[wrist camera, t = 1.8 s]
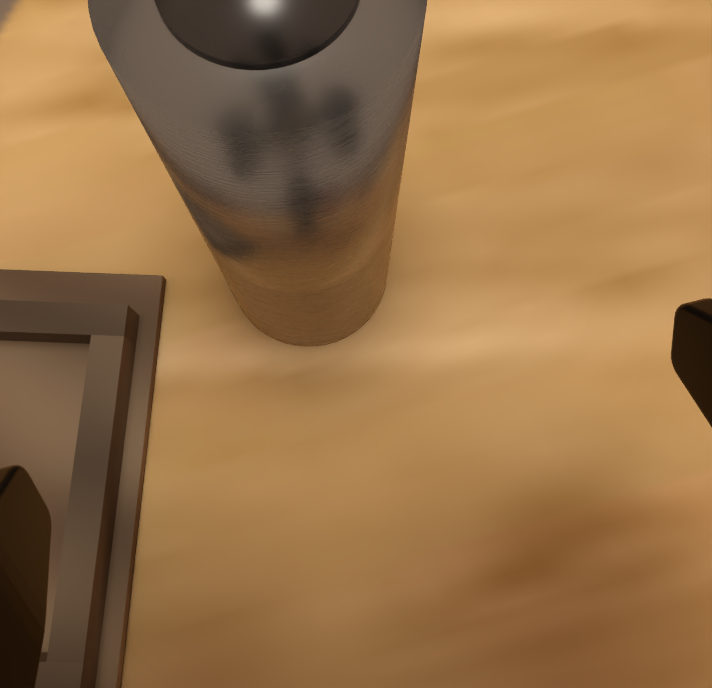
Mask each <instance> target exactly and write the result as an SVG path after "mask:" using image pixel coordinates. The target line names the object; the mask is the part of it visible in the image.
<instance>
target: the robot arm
mask: <svg viewBox="0 0 712 688" xmlns="http://www.w3.org/2000/svg"><path fill="white" fill-rule="evenodd" d="M671 359H672V364H673V367H674V370H675V372H676V373H677V375H678V376H679V378H680V380H681V381H682V383H683V384H684V386H685V387H686V389H687V390H688V392H689V393H690V395H691V396H692V398H693V399H694V401H695V402H696V404H697V405H698V407H699V409H700V410H701V412H702V413H703V415H704V416H705V418H706V419H707V421H708V422H709V424H710V425H711V427H712V299H710V298H708V299H701V300H697V301H693V302H689V303H685V304H682V305H680V306H679V307H678V308H677V310H676V312H675V317H674V327H673V338H672V349H671ZM51 530H52V522H51V516H50V512H49V509H48V507H47V505H46V504H45V502H44V500H43V498H42V496H41V495H40V493H39V491H38V489H37V488H36V486H35V484H34V482H33V480H32V479H31V477H30V475H29V473H28V472H27V471H26V469H25V468H23V467H22V466H19V465H12V466H8V467H4V468H0V688H35V684H36V679H37V674H38V668H39V663H40V657H41V652H42V645H43V639H44V633H45V623H46V611H47V595H48V579H49V563H50V547H51Z"/></svg>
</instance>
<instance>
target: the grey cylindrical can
mask: <svg viewBox="0 0 712 688" xmlns="http://www.w3.org/2000/svg"><path fill="white" fill-rule="evenodd" d="M426 6H427V0H88V8H89V14H90V18H91V22H92V26H93V30H94V32H95V35H96V37H97V40H98V42H99V45H100V47H101V49H102V51H103V53H104V54H105V56H106V58H107V60H108V62H109V64H110V66H111V67H112V69H113V71H114V73H115V75H116V77H117V79H118V80H119V82H120V84H121V86H122V88H123V90H124V92H125V93H126V95H127V97H128V99H129V101H130V103H131V105H132V106H133V108H134V110H135V112H136V114H137V116H138V118H139V119H140V121H141V123H142V125H143V127H144V129H145V131H146V132H147V134H148V136H149V138H150V140H151V142H152V144H153V145H154V147H155V149H156V151H157V153H158V155H159V157H160V158H161V160H162V162H163V164H164V166H165V168H166V170H167V171H168V173H169V175H170V177H171V179H172V181H173V182H174V184H175V186H176V188H177V190H178V192H179V194H180V195H181V197H182V199H183V201H184V203H185V205H186V207H187V208H188V210H189V212H190V214H191V216H192V218H193V220H194V221H195V223H196V225H197V227H198V229H199V231H200V233H201V234H202V236H203V238H204V240H205V242H206V244H207V246H208V247H209V249H210V251H211V253H212V255H213V257H214V259H215V260H216V262H217V264H218V266H219V268H220V270H221V272H222V273H223V275H224V277H225V279H226V281H227V283H228V285H229V286H230V288H231V290H232V292H233V294H234V296H235V298H236V299H237V301H238V303H239V305H240V307H241V308H242V310H243V312H244V313H245V315H246V316H247V317H248V319H249V320H250V321H251V322H252V323H253V324H254V325H255V326H256V327H257V328H258V329H260V330H261V331H262V332H264V333H265V334H266V335H268V336H270V337H272V338H274V339H276V340H279V341H281V342H284V343H288V344H292V345H298V346H319V345H325V344H329V343H333V342H336V341H338V340H341V339H343V338H345V337H347V336H349V335H350V334H352V333H354V332H355V331H356V330H358V329H359V328H360V327H362V326H363V325H364V324H365V323H366V322H367V321H368V320H369V318H370V317H371V316H372V314H373V313H374V312H375V310H376V308H377V307H378V305H379V303H380V301H381V298H382V296H383V293H384V289H385V285H386V278H387V272H388V265H389V258H390V251H391V244H392V238H393V231H394V224H395V217H396V210H397V203H398V197H399V190H400V183H401V176H402V169H403V163H404V156H405V149H406V142H407V135H408V129H409V122H410V115H411V108H412V101H413V95H414V88H415V81H416V74H417V67H418V61H419V54H420V47H421V40H422V33H423V26H424V20H425V13H426Z"/></svg>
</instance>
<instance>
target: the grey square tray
mask: <svg viewBox="0 0 712 688" xmlns="http://www.w3.org/2000/svg"><path fill="white" fill-rule="evenodd" d="M165 283H166V279H165V278H164V277H163V276H157V275H131V274H105V273H80V272H54V271H28V270H2V269H0V468H4V467H8V466H12V465H19V466H22V467H23V468H25V469H26V471H27V472H28V473H29V475H30V477H31V479H32V480H33V482H34V484H35V486H36V488H37V489H38V491H39V493H40V495H41V496H42V498H43V500H44V502H45V504H46V505H47V507H48V509H49V512H50V516H51V522H52V530H51V547H50V563H49V579H48V595H47V611H46V623H45V633H44V639H43V645H42V652H41V657H40V663H39V668H38V674H37V679H36V684H35V688H120V685H121V676H122V667H123V658H124V650H125V641H126V632H127V623H128V614H129V605H130V596H131V587H132V578H133V569H134V560H135V551H136V542H137V533H138V524H139V515H140V506H141V497H142V488H143V479H144V471H145V462H146V453H147V444H148V435H149V426H150V417H151V408H152V399H153V390H154V381H155V372H156V363H157V354H158V345H159V336H160V327H161V318H162V309H163V300H164V292H165Z"/></svg>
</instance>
